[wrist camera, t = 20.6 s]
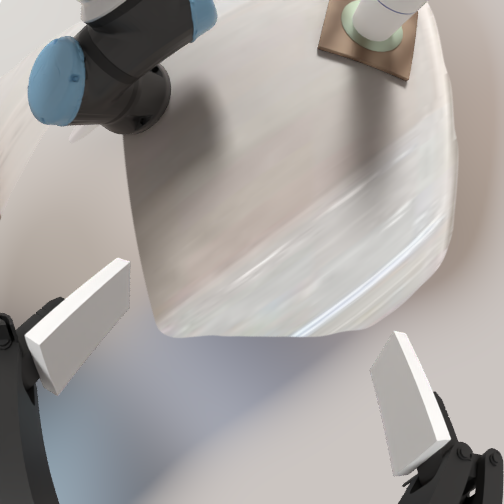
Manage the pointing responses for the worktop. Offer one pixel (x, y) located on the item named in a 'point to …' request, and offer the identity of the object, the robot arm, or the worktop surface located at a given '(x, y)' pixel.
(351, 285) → the worktop surface
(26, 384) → the robot arm
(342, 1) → the board
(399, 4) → the cylindrical container
